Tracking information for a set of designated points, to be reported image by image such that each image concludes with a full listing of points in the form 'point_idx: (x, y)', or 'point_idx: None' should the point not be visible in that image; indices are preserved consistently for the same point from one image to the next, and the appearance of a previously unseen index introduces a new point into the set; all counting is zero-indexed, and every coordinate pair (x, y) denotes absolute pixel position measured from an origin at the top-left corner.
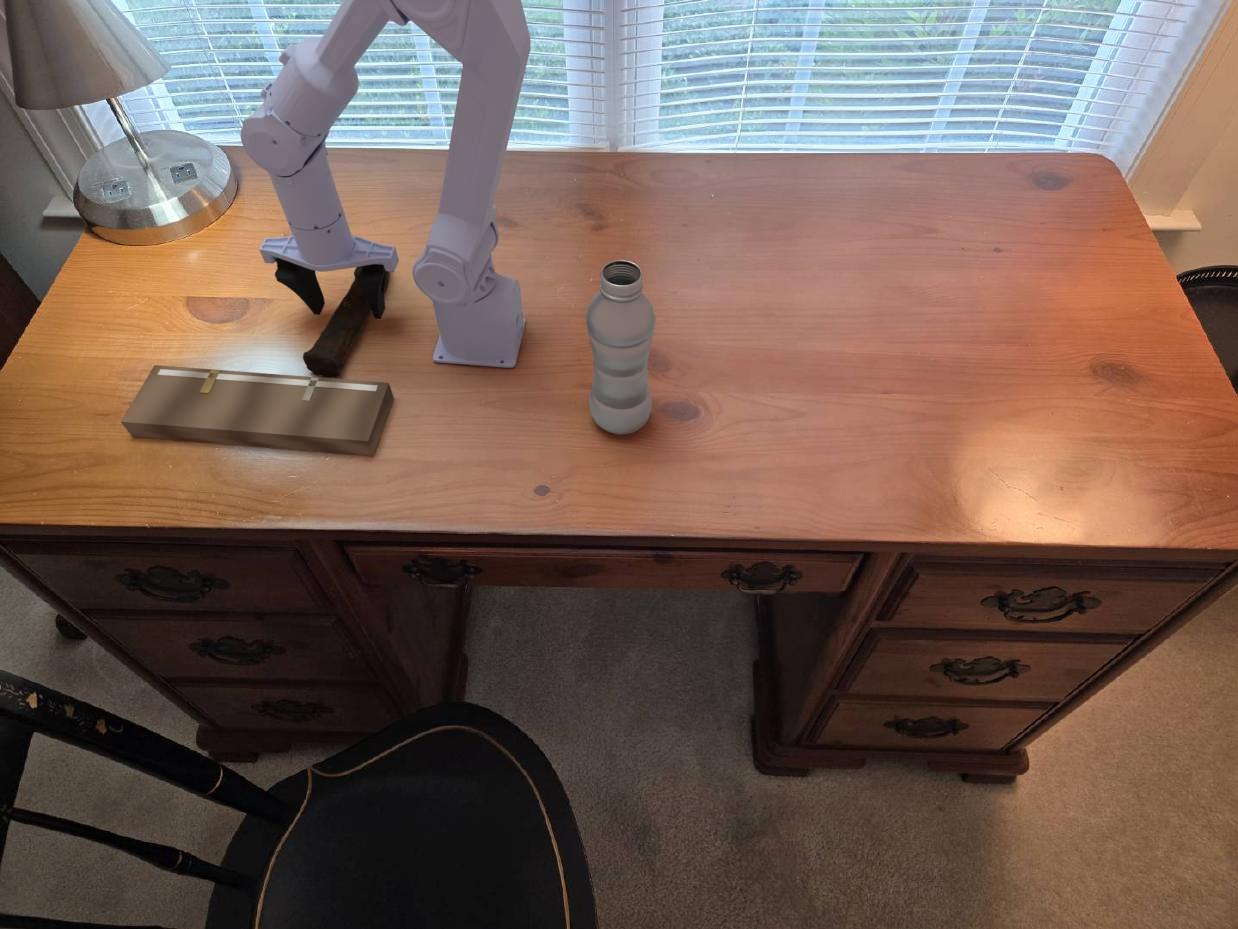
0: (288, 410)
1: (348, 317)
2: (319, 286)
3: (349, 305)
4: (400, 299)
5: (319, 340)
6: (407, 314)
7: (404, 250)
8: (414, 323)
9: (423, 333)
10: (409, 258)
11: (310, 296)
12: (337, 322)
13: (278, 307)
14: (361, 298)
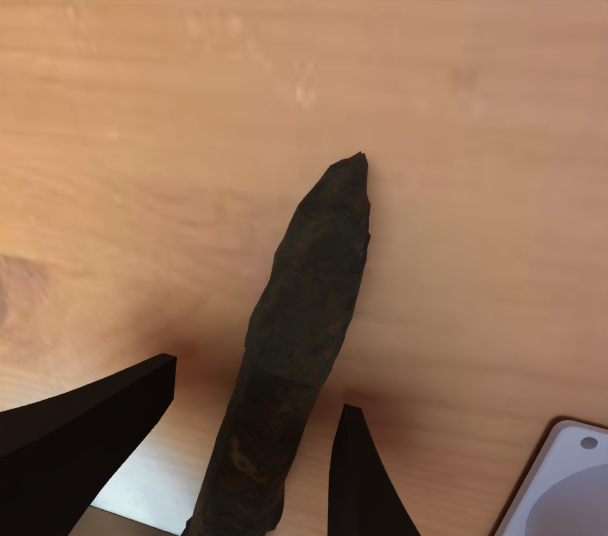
0: None
1: (258, 510)
2: (132, 386)
3: (253, 471)
4: (399, 319)
5: None
6: (420, 384)
7: (423, 30)
8: (439, 421)
9: (463, 461)
10: (442, 91)
11: (114, 460)
12: (228, 528)
13: (68, 298)
14: (290, 443)
